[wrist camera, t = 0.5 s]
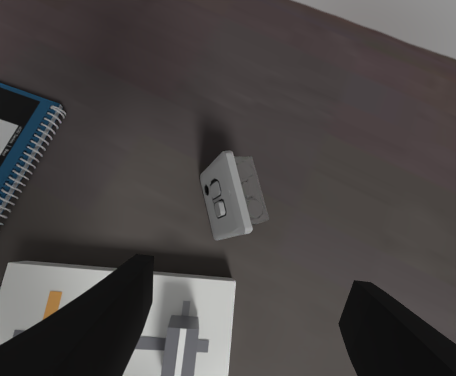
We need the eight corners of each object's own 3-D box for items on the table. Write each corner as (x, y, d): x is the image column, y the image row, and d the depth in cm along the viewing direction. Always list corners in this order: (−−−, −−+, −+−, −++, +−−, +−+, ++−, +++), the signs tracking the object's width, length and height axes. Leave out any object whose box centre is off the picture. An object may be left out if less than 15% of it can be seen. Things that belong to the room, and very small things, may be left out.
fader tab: (191, 378, 25) (190, 403, 21) (162, 377, 25) (156, 402, 21) (198, 316, 27) (199, 329, 23) (171, 315, 26) (167, 327, 22)
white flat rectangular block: (220, 402, 28) (224, 422, 25) (-12, 397, 25) (-40, 418, 22) (232, 277, 31) (236, 281, 28) (27, 260, 28) (7, 262, 25)
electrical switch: (198, 175, 34) (208, 150, 25) (232, 169, 35) (253, 144, 26) (213, 241, 32) (230, 239, 23) (248, 232, 34) (276, 226, 25)
